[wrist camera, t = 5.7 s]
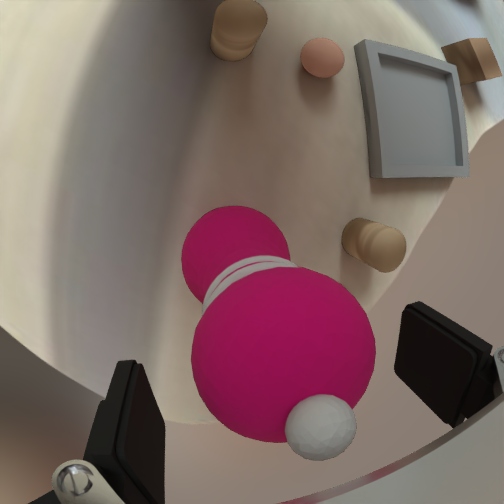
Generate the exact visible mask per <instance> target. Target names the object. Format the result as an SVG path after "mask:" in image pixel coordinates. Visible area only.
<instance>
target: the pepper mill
mask: <svg viewBox="0 0 504 504" xmlns="http://www.w3.org/2000/svg"><path fill="white" fill-rule="evenodd" d="M181 260H182V270H183V275H184V278H185V281H186V284H187V285H188V287H189V289H190V291H191V292H192V293H193V294H194V296H195V297H196V298H197V299H198V300H199V301H200V302H201V303H203V307H202V318H201V320H200V321H199V323H198V325H197V327H196V330H195V335H194V340H193V345H192V354H191V363H192V370H193V377H194V381H195V383H196V386H197V389H198V392H199V395H200V397H201V398H202V400H203V402H204V403H205V405H206V406H207V408H208V409H209V411H210V412H211V413H212V414H213V415H214V416H215V417H216V418H217V419H218V420H219V421H220V422H221V423H222V424H224V425H225V426H226V427H227V428H229V429H230V430H232V431H234V432H236V433H238V434H240V435H242V436H244V437H248V438H252V439H255V440H259V441H264V442H274V443H283V442H288V444H289V445H290V447H291V448H292V449H293V451H294V452H295V453H297V454H298V455H300V456H302V457H303V458H305V459H309V460H326V459H330V458H334V457H336V456H337V455H339V454H340V453H342V452H344V450H345V449H346V448H347V447H348V446H349V445H350V444H351V442H352V440H353V439H354V436H355V433H356V428H357V426H356V420H355V414H354V412H353V410H352V409H353V408H354V407H355V405H356V404H357V402H358V401H359V400H360V399H361V397H362V396H363V394H364V393H365V391H366V389H367V386H368V384H369V381H370V378H371V376H372V373H373V370H374V364H375V355H376V348H375V338H374V335H373V332H372V329H371V325H370V322H369V320H368V317H367V315H366V313H365V311H364V310H363V309H362V307H361V306H360V304H359V303H358V301H357V300H356V299H355V297H354V296H353V295H352V294H351V293H350V292H349V291H348V290H347V289H346V288H345V287H343V286H342V285H341V284H340V283H338V282H336V281H335V280H333V279H332V278H330V277H328V276H326V275H323V274H320V273H318V272H315V271H312V270H309V269H306V268H303V267H298V266H297V265H296V264H294V263H292V262H291V261H290V254H289V250H288V245H287V242H286V240H285V238H284V236H283V234H282V232H281V231H280V230H279V228H278V227H277V226H276V225H275V223H274V222H273V221H272V220H271V219H270V218H268V217H267V216H266V215H264V214H263V213H261V212H259V211H257V210H255V209H252V208H248V207H243V206H228V207H221V208H217V209H214V210H212V211H210V212H208V213H207V214H205V215H204V216H203V217H202V218H201V219H200V220H198V221H197V222H196V224H195V225H194V226H193V227H192V228H191V230H190V231H189V233H188V235H187V237H186V239H185V241H184V245H183V249H182V257H181Z"/></svg>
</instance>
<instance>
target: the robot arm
mask: <svg viewBox="0 0 504 504" xmlns="http://www.w3.org/2000/svg"><path fill="white" fill-rule="evenodd" d="M491 350H492V345H491V344H489V343H487V342H486V341H484V340H483V339H481V338H480V337H478V336H476V335H475V334H473V333H472V332H470V331H468V330H467V329H465V328H464V327H462V326H460V325H459V324H457V323H456V322H454V321H452V320H451V319H449V318H447V317H446V316H444V315H442V314H441V313H439V312H437V311H436V310H434V309H432V308H431V307H429V306H427V305H426V304H424V303H422V302H420V301H418V302H415V303H412V304H408V305H407V306H406V307H405V309H404V310H403V312H402V318H401V326H400V333H399V340H398V346H397V353H396V359H395V364H394V370H395V373H396V375H397V376H398V377H399V378H400V379H401V380H402V381H403V382H404V383H405V384H406V385H407V386H408V387H410V389H411V390H412V391H413V392H414V393H415V394H416V395H417V396H418V397H419V398H420V399H421V400H422V401H423V402H424V403H425V404H426V405H427V406H428V407H429V408H430V409H431V410H432V411H433V412H434V413H435V414H436V415H437V416H438V417H439V418H440V419H441V420H442V421H443V422H444V423H446V424H449V425H450V426H451V427H452V428H453V429H452V430H451V431H449V432H448V433H446V434H444V435H443V436H441V437H440V438H438V439H436V440H435V441H433V442H431V443H429V444H428V445H426V446H424V447H422V448H421V449H419V450H417V451H415V452H413V453H411V454H410V455H408V456H406V457H404V458H402V459H400V460H398V461H396V462H394V463H392V464H389V465H387V466H385V467H383V468H381V469H379V470H376V471H374V472H372V473H369V474H367V475H365V476H362V477H360V478H357V479H355V480H352V481H349V482H347V483H344V484H342V485H339V486H336V487H333V488H330V489H327V490H324V491H321V492H318V493H315V494H311V495H308V496H305V497H301V498H297V499H294V500H290V501H286V502H282V503H278V504H504V346H502V347H499V348H498V349H497V350H496V351H495V352H494V355H493V356H491V355H490V353H491ZM465 417H466V418H467V420H466V421H465V422H463V421H464V419H465ZM164 464H165V423H164V420H163V417H162V415H161V412H160V410H159V407H158V405H157V402H156V400H155V397H154V395H153V392H152V389H151V387H150V384H149V381H148V378H147V376H146V373H145V370H144V367H143V365H142V364H137V362H136V360H125V361H118V363H117V365H116V368H115V371H114V374H113V377H112V380H111V383H110V386H109V390H108V393H107V396H106V399H105V400H102V401H101V402H100V404H99V406H98V409H97V412H96V416H95V419H94V422H93V425H92V429H91V432H90V436H89V439H88V443H87V447H86V450H85V454H84V458H83V460H71V461H68V462H65V463H63V464H62V465H60V466H59V467H58V468H57V469H56V470H55V472H54V474H53V476H52V486H53V489H54V490H52V491H50V492H48V493H47V494H45V495H43V496H41V497H39V498H38V499H36V500H34V501H32V502H30V503H28V504H165V491H164V472H165V471H164V469H165V468H164V466H165V465H164Z"/></svg>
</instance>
